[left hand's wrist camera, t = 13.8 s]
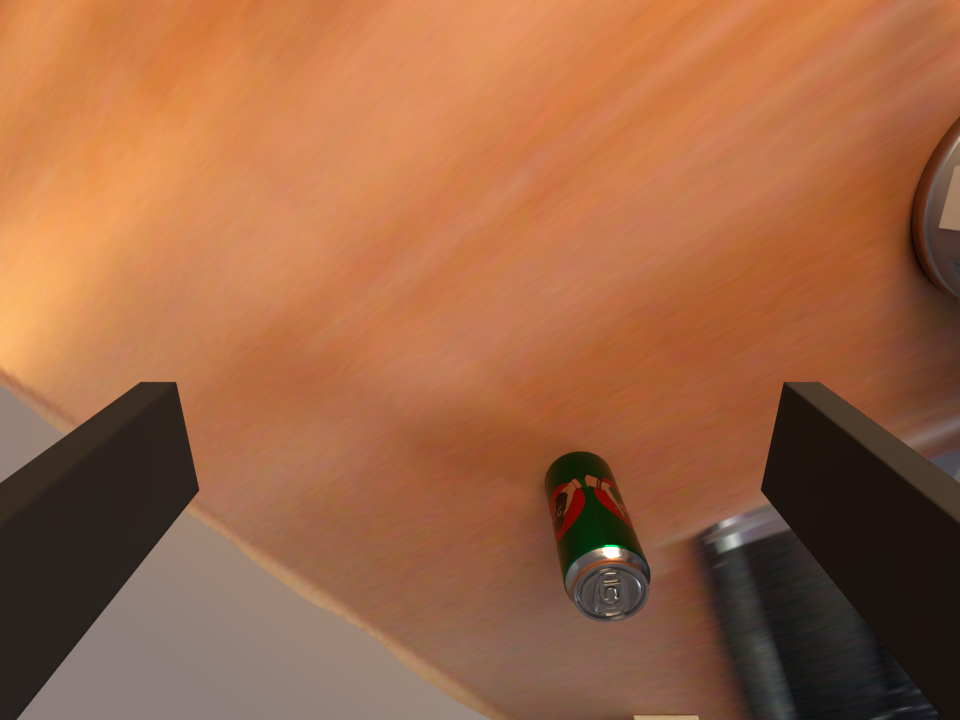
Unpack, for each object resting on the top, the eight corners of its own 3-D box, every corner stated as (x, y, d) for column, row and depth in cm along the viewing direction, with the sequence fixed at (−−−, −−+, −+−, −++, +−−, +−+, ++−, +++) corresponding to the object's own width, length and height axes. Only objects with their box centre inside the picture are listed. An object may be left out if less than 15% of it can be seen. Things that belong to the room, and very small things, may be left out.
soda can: (546, 506, 44) (569, 631, 33) (541, 451, 42) (563, 562, 31) (611, 500, 44) (656, 623, 33) (609, 444, 42) (655, 554, 31)
